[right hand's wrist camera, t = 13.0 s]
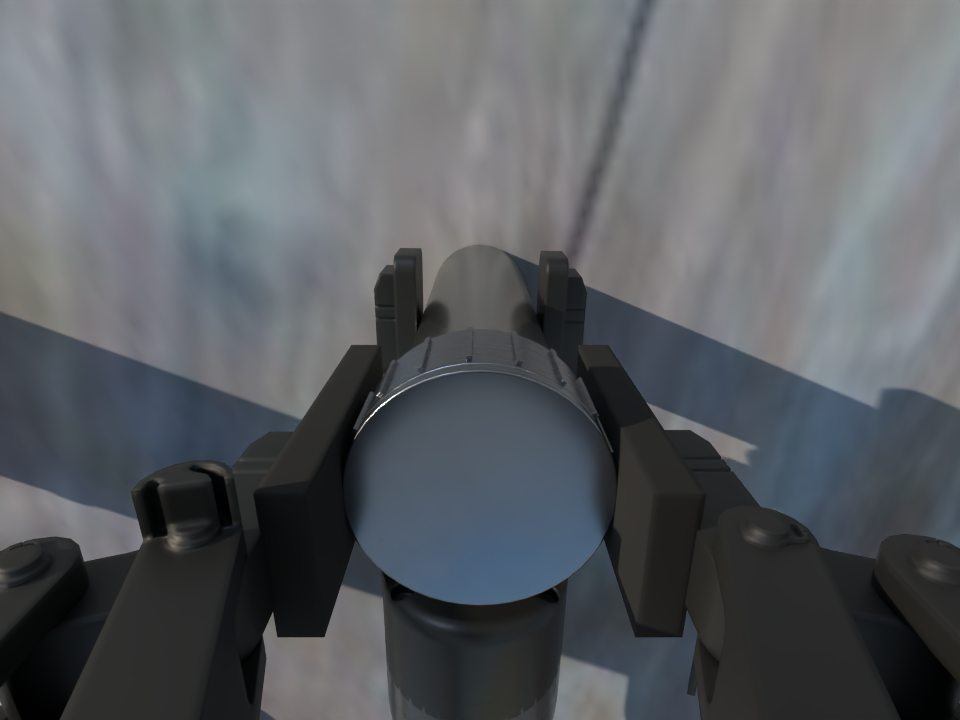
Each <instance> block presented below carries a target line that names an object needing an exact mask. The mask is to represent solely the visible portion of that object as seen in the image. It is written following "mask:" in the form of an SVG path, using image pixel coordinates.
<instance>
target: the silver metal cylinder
mask: <svg viewBox="0 0 960 720" xmlns="http://www.w3.org/2000/svg"><path fill="white" fill-rule="evenodd" d="M468 327H473V329H486V330H498V331H503V332H508V333H511V332H512V331H515V332H517V335H519V336H522V337H525V338H528V339H530V340H532V341H534V342H536V343H538V344H540V345H542V346H543V347H545V348H546V349H548V347H547V344H546V341H545V338H544V335H543V333H542V330H541V327H540V324H539V321H538V318H537V315H536V312H535V309H534V306H533V304H532V301H531V298H530V295H529V292H528V289H527V286H526V283H525V280H524V278H523V275H522V272H521V270H520V268H519V267H518V265H517V263H516V262H515V261H514V260H513V259H512V258H511V257H510V256H509V255H508V254H506V253H505V252H503V251H501V250H499V249H497V248H494V247H491V246H486V245H474V246H469V247H465V248H462V249H460V250H458V251H456V252H455V253H453V254H452V255H451V256H450V257H449V258H447V260H446V261H445V262H444V263H443V265H442V266H441V268H440V270H439V272H438V274H437V277H436V280H435V282H434V285H433V288H432V291H431V294H430V297H429V300H428V303H427V305H426V308H425V311H424V314H423V317H422V320H421V323H420V326H419V328H418V331H417V334H416V337H415V340H414V343H413V346H412V349H413V348H414V347H416V346H418V345H419V344H421V343H423V342H424V341H425V338H427V337H430V338H431V339H432V338H434V337H437V336H440V335H444V334H447V333H451V332H456V331H462V330H468Z"/></svg>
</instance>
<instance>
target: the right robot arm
mask: <svg viewBox="0 0 960 720" xmlns="http://www.w3.org/2000/svg"><path fill="white" fill-rule="evenodd" d="M382 377H383V365H382V350H381V345H351V347H350V348H349V350H348V351H347V353H346V354H345V356H344V357H343V359H342V360H341V362H340V363H339V365H338V366H337V368H336V369H335V371H334V372H333V374H332V375H331V377H330V378H329V380H328V381H327V383H326V384H325V386H324V387H323V389H322V390H321V392H320V393H319V395H318V397H317V398H316V400H315V401H314V403H313V404H312V406H311V407H310V409H309V410H308V412H307V413H306V415H305V416H304V418H303V419H302V421H301V422H300V424H299V425H298V427H297V428H296V430H295V431H294V432H269V433H267V434H266V435H264V436H263V437H261V438H259V439H258V440H256V441H255V442H253V443H251V444H250V445H249V447H248V448H247V449H246V450H245V452H244V453H243V454H242V455H241V457H240V458H239V462H236V463H235V464H234V466H233V467H232V468H230V467H229V466H227V465H226V464H225V463H221V462H216V461H211V460H206V461H190V462H185V463H180V464H176V465H172V466H170V467H167V468H164V469H162V470H159V471H156V472H154V473H153V474H151V475H149V476H148V477H146V478H145V479H143V480H141V481H140V482H139V483H138V484H137V485H136V486H135V487H134V488H133V489H132V491H131V494H132V498H133V502H134V506H135V510H136V514H137V517H138V521H139V525H140V529H141V533H142V537H143V540H144V541H143V543H142V545H141V547H140V549H139V550H137V551H133V552H129V553H125V554H120V555H115V556H110V557H105V558H100V559H95V560H91V561H86V562H84V560H83V557H82V554H81V550H80V547H79V545H78V544H77V543H75V542H74V541H73V540H72V539H69V538H62V537H48V538H39V539H32V540H28V541H25V542H23V543H22V542H20V543H18V544H15V545H12V546H9V547H8V548H6V549H4V550H2V551H0V703H1V707H0V720H259V717H260V708H261V699H262V691H263V682H264V674H265V665H266V653H265V646H264V641H263V635H262V634H263V632H264V630H265V628H266V626H267V623H268V621H269V619H270V617H271V614H272V612H273V614H274V620H275V625H276V631H277V637H325V634H326V630H327V627H328V624H329V621H330V618H331V615H332V612H333V608H334V605H335V602H336V599H337V596H338V593H339V590H340V587H341V583H342V580H343V577H344V574H345V571H346V568H347V565H348V562H349V558H350V555H351V552H352V549H353V546H354V543H355V540H356V539H355V537H354V535H353V533H352V531H351V529H350V527H349V524H348V521H347V518H346V515H345V509H344V500H343V490H342V474H343V467H344V463H345V459H346V456H347V453H348V450H349V447H350V445H351V443H352V441H353V438H354V436H355V434H354V433H351V432H352V429H353V427H354V425H355V423H356V421H357V419H358V416H359V414H360V412H361V410H362V408H363V405H364V403H365V401H366V399H367V397H368V395H369V392H370V391H371V392H374V391H375V389H376V387H377V385H378V383H379V382H380V380H381V379H382ZM576 377H577V378H580V377H581V378H582V379H583V381H584V383H585V386H586V388H587V390H588V392H589V394H590V397H591V399H592V401H593V403H594V405H595V408H596V410H597V412H598V414H599V417H598V418H599V420H600V423H601V425H602V427H603V429H604V432H605V434H606V436H607V438H608V441H609V443H610V445H611V447H612V450H613V459H614V463H615V466H616V473H617V496H616V506H615V512H614V516H613V518H612V521H611V524H610V527H609V529H608V531H607V533H606V535H605V537H604V541H605V544H606V547H607V550H608V553H609V556H610V559H611V563H612V566H613V569H614V572H615V575H616V578H617V581H618V584H619V588H620V591H621V594H622V597H623V600H624V603H625V606H626V610H627V613H628V616H629V619H630V622H631V625H632V628H633V631H634V635H635V637H682V635H683V629H684V623H685V618H686V612H687V610H688V612H689V615H690V617H691V619H692V621H693V623H694V626H695V628H696V630H697V632H698V635H697V641H696V646H695V652H694V657H693V663H692V668H691V674H690V679H689V685H688V692H687V694H690V695H694V696H695V692H696V686H697V690H698V698H699V707H700V715H701V720H960V704H959V701H960V548H958V547H955V546H954V545H952V544H950V543H948V542H945V541H942V540H936V539H935V538H931V537H926V536H917V535H909V534H902V535H894V536H889V537H888V538H887V539H885V540H884V541H883V542H882V543H881V546H880V549H879V552H878V555H877V559H872V558H867V557H862V556H857V555H852V554H847V553H842V552H837V551H832V550H829V549H825V548H821V547H820V546H819V544H818V542H817V540H816V538H815V537H814V536H813V535H812V533H811V532H810V531H809V529H808V528H806V527H805V526H804V525H802V524H801V523H799V522H798V521H796V520H795V519H794V518H792V517H789V516H787V515H785V514H782V513H780V512H778V511H775V510H771V509H767V508H763V507H760V506H759V504H758V503H757V502H756V500H755V499H754V498H753V497H752V495H751V494H750V493H749V492H748V490H747V489H746V488H745V487H744V485H743V484H742V483H741V481H740V480H739V479H738V478H737V476H736V475H735V474H734V473H733V472H731V471H730V468H729V466H728V465H727V464H726V462H725V461H724V460H721V456H720V455H719V454H718V452H717V451H716V450H715V448H714V447H713V446H712V445H711V443H710V442H708V441H707V440H705V439H703V438H702V437H700V436H699V435H697V434H695V433H694V432H692V431H691V430H664V429H663V427H662V426H661V424H660V423H659V421H658V420H657V418H656V417H655V415H654V414H653V412H652V411H651V409H650V408H649V406H648V405H647V403H646V402H645V400H644V399H643V397H642V396H641V394H640V393H639V391H638V389H637V388H636V386H635V385H634V383H633V382H632V380H631V379H630V377H629V376H628V374H627V373H626V371H625V370H624V368H623V367H622V365H621V364H620V362H619V361H618V359H617V358H616V356H615V355H614V353H613V352H612V350H611V349H610V347H609V346H608V345H578V360H577V375H576Z"/></svg>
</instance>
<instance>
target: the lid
mask: <svg viewBox="0 0 960 720" xmlns="http://www.w3.org/2000/svg"><path fill="white" fill-rule="evenodd" d="M598 417H599V414H598V412H597V410H596V408H595V405H594V403H593V401H592V399H591V397H590V394H589V392H588V390H587V388H586V386H585V383H584V381H583V379H582V378H581V377H580V378H577V377H576V375H575V374H574V373H573V372H572V371H571V369H570V368H569V367H568V366H567V365H566V364H565V363H564V362H563V361H562V360H561V359H560V358H559V357H557V354H556V351H555V350H553V349H552V348H551V349H550V351H549V350H548V349H546V348H545V347H543V346H542V345H540V344H538V343H536V342H534V341H532V340H530V339H528V338H525V337H522V336H519V335H517V332H515V331H512V332H511V333H508V332H503V331H498V330H486V329H473V327H468V330H462V331H456V332H451V333H447V334H444V335H440V336H437V337H434V338H432V339H431V338H430V337H427V338H425V341H424V342H423V343H421V344H419V345H418V346H416V347H414V348H413V349H411V350H410V351H408V352H407V353H405V354H404V355H403V356H402V357H401V358H400V359H398V360H397V361H396V360H395V359H393V360H392V361H391V363H390V365H389V368H388V370H387V372H386V373H385V375H384V376H383V377H382V379H381V380H380V382H379V383H378V385H377V387H376V389H375V391H374V392H371V391H370V392H369V395H368V397H367V399H366V401H365V403H364V405H363V408H362V410H361V412H360V414H359V416H358V419H357V421H356V423H355V425H354V427H353V429H352V432H351V433H354V434H355V436H354V438H353V441H352V443H351V445H350V447H349V450H348V453H347V456H346V459H345V463H344V467H343V474H342V490H343V500H344V509H345V515H346V518H347V521H348V524H349V527H350V529H351V531H352V533H353V535H354V537H355V539H356V541H357V542H358V544H359V545H360V547H361V548H362V550H363V551H364V553H365V554H366V555H367V556H368V557H369V558H370V559H371V560H372V562H373V563H374V564H375V565H376V566H377V567H379V568H380V569H381V570H382V571H383V572H384V573H385V574H387V575H388V576H389V577H391V578H392V579H394V580H395V581H397V582H398V583H400V584H401V585H403V586H405V587H407V588H409V589H411V590H413V591H415V592H417V593H420V594H422V595H425V596H427V597H430V598H434V599H437V600H441V601H445V602H450V603H456V604H464V605H496V604H502V603H509V602H514V601H518V600H522V599H526V598H529V597H532V596H534V595H537V594H540V593H542V592H544V591H546V590H548V589H550V588H552V587H554V586H556V585H558V584H559V583H561V582H562V581H564V580H566V579H567V578H569V577H570V576H571V575H572V574H574V573H575V572H576V571H577V570H578V569H580V568H581V567H582V566H583V565H584V564H585V563H586V562H587V561H588V560H589V559H590V557H591V556H592V555H593V554H594V553H595V551H596V550H597V548H598V547H599V546H600V544H601V543H602V541H603V539H604V537H605V535H606V533H607V531H608V529H609V527H610V524H611V521H612V518H613V516H614V512H615V506H616V496H617V473H616V466H615V463H614V459H613V450H612V447H611V445H610V443H609V441H608V438H607V436H606V434H605V432H604V429H603V427H602V425H601V423H600V420H599V418H598Z"/></svg>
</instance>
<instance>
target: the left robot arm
mask: <svg viewBox="0 0 960 720" xmlns="http://www.w3.org/2000/svg"><path fill="white" fill-rule="evenodd" d="M374 293H375V312H376V331H377V345H381V350H382V365H383V376H384V375H385V373H386V372H387V370H388V368H389V365H390V363H391V361H392V360H393V359H395V360H396V361H397V360H398V359H400V358H401V357H402V356H403V355H404V354H405V353H407V352H408V351H410V350H411V349H412V346H413V343H414V340H415V337H416V334H417V331H418V328H419V326H420V323H421V320H422V317H423V274H422V251H421V248H400V249H399V250H398V252H397V253H396V254H395V256H394V265H386V267H385V268H384V269H383V270H382V272H381V273H380V274H379V277H378V280H377V283H376V286H375V288H374ZM586 296H587V292H586V289H585V286H584V283H583V279H582V277H581V276H580V275H579V273H578V272H577V271H576V270H575V269H569V265H568V259H567V257H566V256H565V255H564V253H563V252H562V251H541V254H540V263H539V281H538V299H537V318H538V321H539V324H540V327H541V330H542V333H543V335H544V338H545V341H546V344H547V347H548V350H549V351H550V349H551V348H552V349H553V350H555V351H556V354H557V357H559V358H560V359H561V360H562V361H563V362H564V363H565V364H566V365H567V366H568V367H569V368H570V369H571V371H572V372H573V373H574V374H575V375H577V360H578V345H582V342H583V330H584V319H585V308H586ZM381 571H382V570H381ZM567 582H568V578H567V579H566V580H564V581H562V582H561V583H559V584H558V585H556V586H554V587H552V588H550V589H548V590H546V591H544V592H542V593H540V594H537V595H534V596H532V597H529V598H526V599H522V600H518V601H514V602H509V603H502V604H496V605H464V604H456V603H450V602H445V601H441V600H437V599H434V598H430V597H427V596H425V595H422V594H420V593H417V592H415V591H413V590H411V589H409V588H407V587H405V586H403V585H401V584H400V583H398V582H397V581H395V580H394V579H392V578H391V577H389V576H388V575H387V574H385V573H384V572H383V571H382V587H383V605H384V622H385V641H386V658H387V676H388V693H389V702H390V709H391V715H392V719H393V720H553V717H554V713H555V707H556V700H557V692H558V681H559V670H560V659H561V648H562V637H563V626H564V615H565V604H566V593H567Z"/></svg>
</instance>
